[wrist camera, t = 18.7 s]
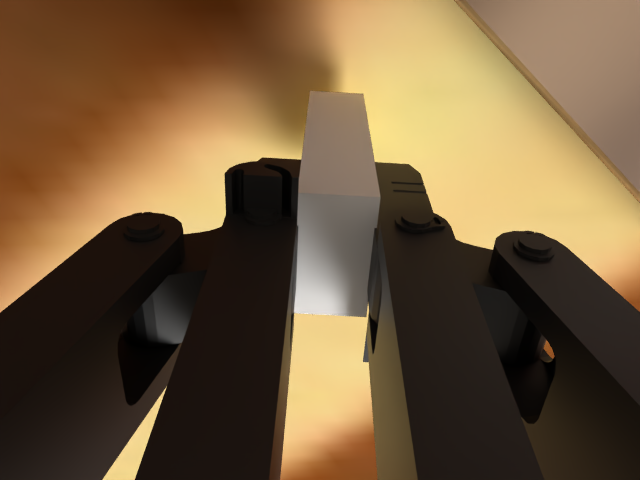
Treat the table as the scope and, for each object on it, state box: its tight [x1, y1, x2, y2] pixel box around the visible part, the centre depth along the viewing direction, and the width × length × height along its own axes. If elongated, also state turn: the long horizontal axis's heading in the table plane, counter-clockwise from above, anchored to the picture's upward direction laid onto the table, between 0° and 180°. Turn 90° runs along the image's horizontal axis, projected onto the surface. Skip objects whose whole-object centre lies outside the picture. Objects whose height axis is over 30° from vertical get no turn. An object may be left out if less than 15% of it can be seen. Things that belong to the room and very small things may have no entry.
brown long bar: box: [455, 0, 640, 202], centre depth 14 cm, size 17×3×4 cm, turn 48°
